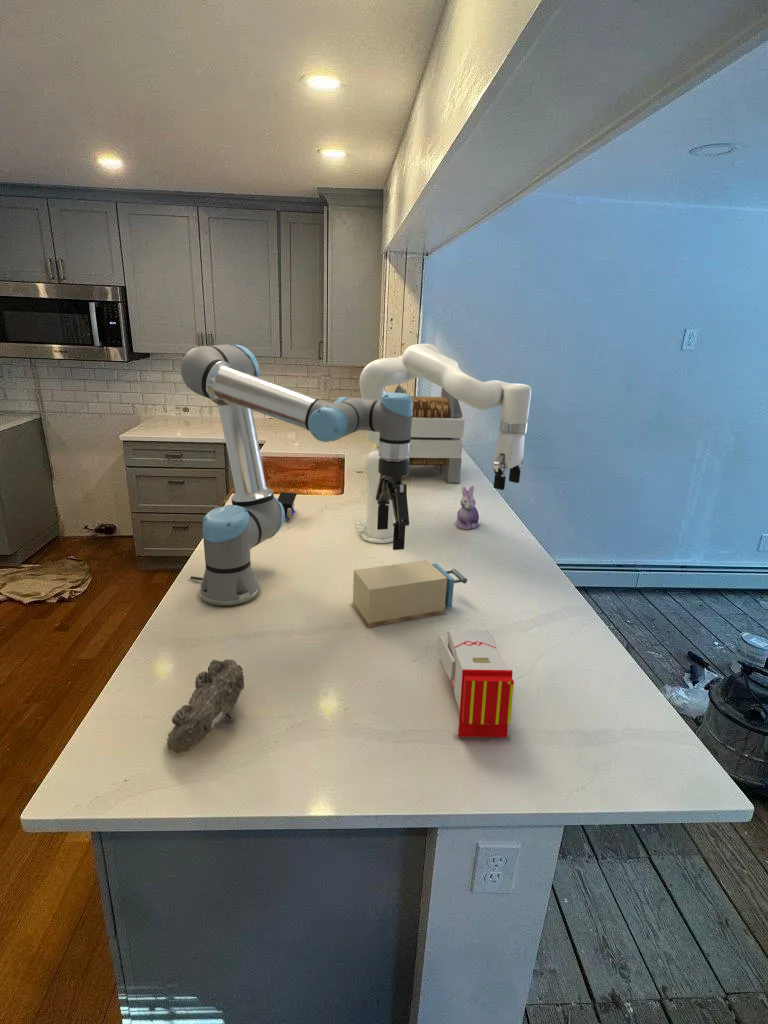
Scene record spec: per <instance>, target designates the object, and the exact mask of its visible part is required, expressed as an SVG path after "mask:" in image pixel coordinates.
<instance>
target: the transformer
mask: <svg viewBox="0 0 768 1024" xmlns="http://www.w3.org/2000/svg"><path fill="white" fill-rule="evenodd" d="M393 393H404V394H408V393H407V390H406V389H404V388H403V387H402V385H400V384H397V386H396V388H395V390H394V392H393ZM440 393H441V394H440V396H415V395H414V396H413V395H412V396H411V395H410V396H411V397H412V413H413V416H412V427H411V441H410V444H411V445H412V447H411V448H410V457H409V467H410V466H411V467H412V466H413V467H415V466H416V467H417V466H418V467H436V468H437V470H438V469H439V473H440V474H441V475H443V478H444V479H445V481H446V482H447V483H449V484H455V483H456V484H459V483H461V472H462V461H463V460H462V453H463V442H464V441H463V440H462V439H463V438H464V431H465V430H464V429H465V419H464V418H463V411H462V408H461V405H460V401H459V400H457V399H456V398H454V397H453V396H451V395H450V394H449V393H448V392H447V391H445V389H444V388H442V387H441V392H440Z"/></svg>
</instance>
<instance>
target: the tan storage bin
mask: <svg viewBox="0 0 768 1024" xmlns="http://www.w3.org/2000/svg"><path fill="white" fill-rule="evenodd" d="M432 564H433V563H431V561H429V560H428V559H425V560H418V561H410V562H403V563H395V564H387V565H379V566H372V567H366V568H359V569H353V581H352V582H353V583H352V584H353V585H352V586H353V587H352V606H353V608H354V609H355V611H356V612H357V613H358V615H359V616H360V618H361V619H362V620H363V622H364V624H365V625H366V626H367V628H368V627H377V626H381V625H388V624H392V623H399V622H404V621H409V620H415V619H420V618H421V619H422V618H426V617H427V618H428V617H433V616H439V615H444V614H445V609H446V608H445V607H446V606H445V597H446V586H447V578H446V577H445V576H444V575H443V574H442V573H441V572H440V571H439V570H438V569H437V568H435V567H434V566H433V565H432Z"/></svg>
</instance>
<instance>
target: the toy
mask: <svg viewBox="0 0 768 1024" xmlns="http://www.w3.org/2000/svg"><path fill="white" fill-rule="evenodd" d="M446 640H447V643H446V641H445V639H444V636H443V635H442V634H439V637H438V646H437V656H438V657H439V659H440V661H441V663H442V666H443V668H444V670H445V672H446V674H447V677H448V679H449V681H450V684H451V687H452V690H453V693H454V697H455V701H456V705H457V708H458V711H459V714H458V715H459V716H458V730H457V731H458V732H457V737H458V738H508V731H509V726H510V725H511V717H512V707H513V697H514V696H513V695H514V684H515V680H514V679H513V673H514V671H513V670H512V669H508V667H507V665H506V662H505V661H504V659H503V658H502V655H501V653H500V651H499V649H498V647H497V643H496V639H495V637H494V635H493V634H491V632H490V631H489V629H467V628H466V629H465V628H463V629H461V628H460V629H459V628H448V630H447V639H446Z"/></svg>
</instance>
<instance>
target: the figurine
mask: <svg viewBox="0 0 768 1024" xmlns="http://www.w3.org/2000/svg"><path fill="white" fill-rule="evenodd" d="M474 489H475V487H474V485H471V486H470V487H469V489H468V490H467V488H466V487H465V486H461V493H462V497H461V500H460V506H461V508H459V509H458V510H457V513H456V517H457V518H456V522H455V523H456V526H458V528H459V529H463V530H470V529H475V528H477V526H478V524H479V520H480V515H479V511H478V509H477V507H476V503H477V502H476V499H475V496H474Z"/></svg>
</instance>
